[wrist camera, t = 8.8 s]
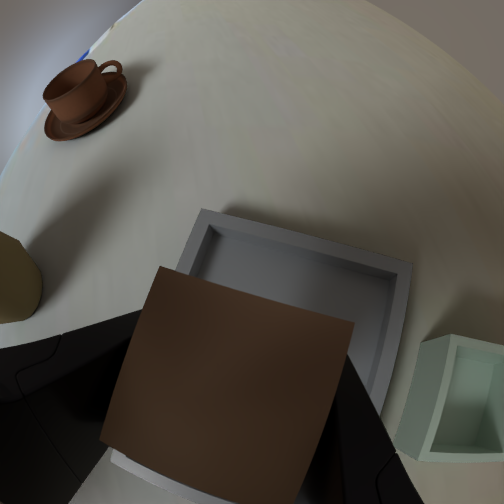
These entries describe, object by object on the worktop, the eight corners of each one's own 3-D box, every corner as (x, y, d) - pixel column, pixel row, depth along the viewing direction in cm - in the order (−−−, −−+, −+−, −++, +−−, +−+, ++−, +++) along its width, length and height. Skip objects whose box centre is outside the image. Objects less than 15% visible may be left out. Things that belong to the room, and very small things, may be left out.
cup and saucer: (104, 75, 35) (88, 44, 30) (149, 94, 32) (132, 54, 26) (41, 131, 32) (18, 102, 27) (72, 163, 29) (43, 128, 23)
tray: (324, 521, 15) (328, 536, 12) (125, 454, 18) (109, 461, 15) (401, 274, 21) (413, 263, 19) (208, 223, 24) (201, 208, 22)
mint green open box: (473, 451, 15) (505, 461, 11) (392, 445, 16) (417, 460, 12) (496, 358, 17) (531, 351, 13) (420, 342, 19) (451, 333, 15)
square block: (285, 431, 13) (287, 515, 4) (206, 405, 14) (99, 440, 5) (310, 354, 14) (354, 322, 5) (231, 331, 15) (159, 266, 6)
